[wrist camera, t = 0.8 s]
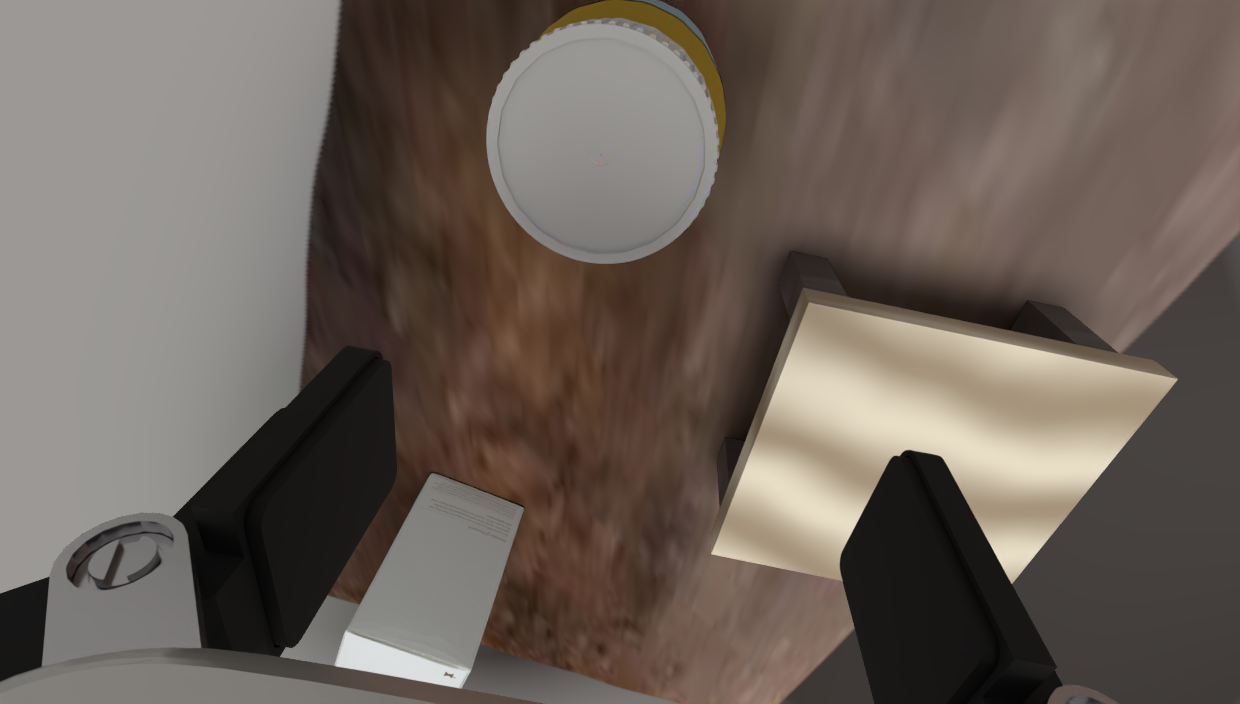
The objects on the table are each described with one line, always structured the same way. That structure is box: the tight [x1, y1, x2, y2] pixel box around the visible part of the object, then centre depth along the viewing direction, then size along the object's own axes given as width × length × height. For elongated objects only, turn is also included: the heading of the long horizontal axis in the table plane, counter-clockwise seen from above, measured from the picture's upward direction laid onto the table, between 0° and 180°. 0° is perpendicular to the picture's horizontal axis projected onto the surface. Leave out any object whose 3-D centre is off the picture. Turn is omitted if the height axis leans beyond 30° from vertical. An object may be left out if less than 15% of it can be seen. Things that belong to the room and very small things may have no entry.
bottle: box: [486, 0, 726, 264], centre depth 22 cm, size 7×7×15 cm
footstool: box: [710, 251, 1177, 584], centre depth 33 cm, size 16×16×8 cm
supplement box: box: [334, 473, 524, 689], centre depth 40 cm, size 7×7×13 cm
